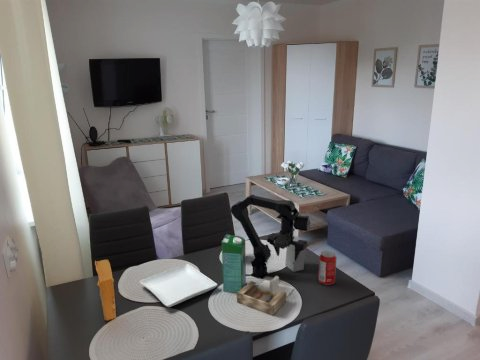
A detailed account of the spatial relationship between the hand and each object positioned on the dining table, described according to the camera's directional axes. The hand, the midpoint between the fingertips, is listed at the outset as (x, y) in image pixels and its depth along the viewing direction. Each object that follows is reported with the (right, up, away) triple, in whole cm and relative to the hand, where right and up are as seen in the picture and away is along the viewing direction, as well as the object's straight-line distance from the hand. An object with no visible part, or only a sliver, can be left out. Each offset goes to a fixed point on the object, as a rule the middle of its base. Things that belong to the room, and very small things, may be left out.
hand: (286, 258), depth 180 cm
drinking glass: (-24, -6, +25) cm, 36 cm away
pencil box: (-13, -16, -14) cm, 25 cm away
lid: (-6, -14, -4) cm, 16 cm away
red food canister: (+19, -12, +1) cm, 23 cm away
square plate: (-51, -14, -2) cm, 53 cm away
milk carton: (-25, -14, -1) cm, 28 cm away
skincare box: (+6, -8, +16) cm, 19 cm away
